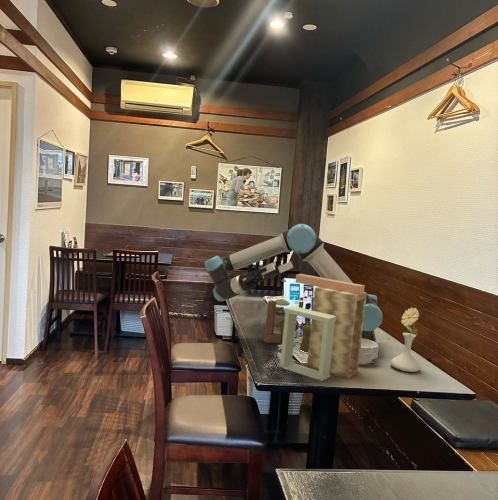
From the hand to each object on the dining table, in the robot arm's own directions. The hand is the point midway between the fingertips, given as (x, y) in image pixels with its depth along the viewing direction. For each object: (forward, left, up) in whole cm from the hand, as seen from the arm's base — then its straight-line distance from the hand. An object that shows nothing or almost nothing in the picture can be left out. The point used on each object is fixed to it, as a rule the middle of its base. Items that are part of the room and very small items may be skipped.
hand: (283, 265), depth 180 cm
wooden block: (0, -12, -36) cm, 38 cm away
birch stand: (-22, +14, -35) cm, 44 cm away
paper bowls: (-33, 0, -36) cm, 49 cm away
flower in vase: (-51, +4, -36) cm, 62 cm away
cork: (-13, -5, -36) cm, 38 cm away
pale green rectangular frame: (-12, +20, -35) cm, 42 cm away
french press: (-1, -30, -36) cm, 47 cm away
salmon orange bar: (-18, +11, -5) cm, 22 cm away
